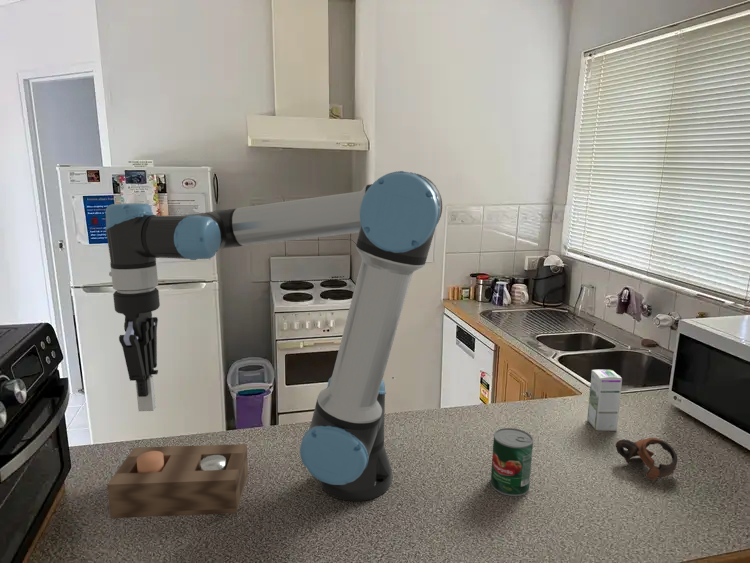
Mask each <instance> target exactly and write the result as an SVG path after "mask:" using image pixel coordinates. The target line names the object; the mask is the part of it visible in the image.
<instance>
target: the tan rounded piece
mask: <svg viewBox="0 0 750 563" xmlns="http://www.w3.org/2000/svg"><path fill="white" fill-rule="evenodd" d="M163 468H164V457H163V453H162V452H160V451H149V452H146V453H143V454H141V455H140V456H139V457H138V458H137V470H138V473H149V472H162V470H163Z"/></svg>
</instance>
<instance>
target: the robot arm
mask: <svg viewBox="0 0 750 563" xmlns="http://www.w3.org/2000/svg"><path fill="white" fill-rule="evenodd" d="M152 210H153V209H152V206H151V205H150V204H149V203H141V202H140V203H139V202H138V203H137V202H135V203H134V202H133V203H131V202H130V203H113V204H108V206H107V207H106V209H105V232H106V239H107V244H108V245H107V248H108V252H109V259H110V260H109V261H110V262H109V264H110V265H109V266H110V271H109V272H108V276H110V277H111V282H112V284H111V285H112V289H113V290H115V291H114V293H113V294H112V295H113V296H112V297H113V305H114V306H113V307H114V311H115V312H116V313H118V314H120V315H121V314H122V315H123V316H124V325H123V327H124V332H125V334H120V335H119V336H118V341H119V343H120V345H121V347H122V350H123V356H124V360H125V365H126V370H127V374H128V377H129V378H128V379H129V381H135V388H136V397H137V410H138V412H153V411H154V410H156V408H157V406H156V403H157V402H156V397H155V396H156V394H155V383H154V375H158V373H159V370H158V369H156V368H157V367H158V363H157V361H158V357H157V356H158V351H157V350H158V344H157V343H158V336H157V334H158V333H157V329H158V321H159V319H158V317H157V316H156V317H155V316H153V312H155V311H156V310H158V309H159V308H160V305H161V304H160V295H159V294H160V293H159V292H160V291H159V289H158V288H157V286H159V278H158V269H157V268H158V267H157V259H158V258H162V259H179V260H182V259H184V260H190V261H196V260H207V259H212V258H214V256H216V254H217V252H218V251H219V250H223V249H229V248H238V247H245V246H252V245H262V244H270V243H271V244H272V243H278V242H288V241H296V240H298V241H299V240H305V239H306V240H307V239H315V238H321V237H322V238H323V237H331V236H338V235H339V236H340V235H349V234H358V236H357V240H356V245H355V249H356V250H357V252H358V254H359V256H360V258H361V262H360V266H359V269H358V274H357V279H356V281H355V286H354V290H353V294H352V298H351V301H350V306H349V309H348V312H347V316H346V321H345V324H344V328H343V333H342V337H341V340H340V343H339V344H340V345H339V347H338V352H337V355H336V358H335V359H336V360H335V363H334V368H333V371H332V375H331V377H329V379H328V381H327V387H326V388H324V389H322V390H321V391H320V392H319V393H318V395H317V399H316V403H315V406H314V410H313V413H312V418H311V422H310V425H309V428H308V429H307V431H305V433H304V435H303V436H302V438H301V443H300V447H299V454H300V459H301V462H302V464H303V466H304V467H306V469H307V470H308V472H309V474H310V475H312V477H314V478H315V479H316V480H318V481H319V482H320V487H321V488H322V489H323V490H324V491H325V493H327V494H328V495H330V496H332V497H333V498H336V499H339V500H343V501H347V502H349V501H350V502H361V501H366V500H367V501H369V500H371V499H375V498H377V497H380V496H381V495H383V494H385V492H387V491H388V490H389V488H390V487H391V486H392V485H391V484H392V482H393V480H392V479H393V478H392V477H393V475H392V474H393V469H392V466H391V462H390V459H389V456H388V454H387V450H386V447H385V418H386V417H385V415H386V414H385V411H386V410H385V407H386V406H385V405H386V402H385V401H386V398H385V397H386V394H387V392H386V384H385V381H384V376H385V371H386V368H387V364H388V362H389V361H388V360H389V357H390V354H391V350H392V347H393V343H394V340H395V338H396V337H395V336H396V332H397V330H398V326H399V322H400V320H401V319H400V318H401V316H402V313H403V309H404V306H405V305H404V304H405V302H406V297H407V295H408V291H409V288H410V287H409V286H410V285H411V281H412V276H413V274H414V272H416V271H418V270H420V269H421V268H424V267H425V266H426V262H427V259H428V255H429V252H430V248H431V246H432V242H433V238H434V236H435V231H436V227H437V225H438V223H439V221H440V220H441V217H442V213H443V200H442V195H441V193H440V190H439V189H438V187H437V185H435V183H434V182H433V181H432V180H431V179H429V178H427V177H426V176H424V175H422V174H419V173H415V172H408V171H403V170H399V171H393V172H389V173H386V174H384V175H383V176H381V177H379V178H377V179H376V180H375V181H374V182H373V183H371V184H365V185H364V187H363V188H362V189H361V190H359V191H352V192H345V193H338V194H337V193H336V194H331V195H324V196H318V197H317V196H315V197H308V198H303V199H302V198H301V199H295V200H288V201H280V202H274V203H273V202H272V203H266V204H265V203H263V204H257V205H249V206H245V207H244V206H243V207H237V208H227V209H219V210H212V211H208V212H200V213H199V212H198V213H191V214H184V215H183V214H181V215H156V214H153V213H154V212H153V211H152Z"/></svg>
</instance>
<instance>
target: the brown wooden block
mask: <svg viewBox="0 0 750 563" xmlns="http://www.w3.org/2000/svg"><path fill="white" fill-rule="evenodd" d="M149 451H160V452H162V453H163V457H164V468H163V470H162V472H149V473H138V470H137V458H138V457H139V456H140V455H141V454H143V453H146V452H149ZM211 455H221V456H224V457H225V458H226V470H207V471H201V465H200V463H201V461H202V460H203V459H204V458H206V457H208V456H211ZM248 461H249V460H248V444H247V443H242V444H241V443H238V444H237V443H236V444H210V445H209V444H206V445H178V446H177V445H176V446H175V445H173V446H170V445H169V446H147V447H145V446H144V447H133V449H132V450H131V451H130V452H129V453H128V456H127V457H125V460H124V461H123V462H122V464H121V465H120V466H119V467H118V469H117V471H115V473H114V474H113V476H112V477H111V479H110V480H109V481H108V482H107V484H106V486H107V496H108V497H107V498H108V506H109V507H108V508H109V516H110V519H131V518H132V519H134V518H151V517H152V518H157V517H177V516H178V517H179V516H180V517H181V516H199V515H200V516H201V515H205V516H206V515H223V514H224V515H226V514H227V515H228V514H229V515H230V514H237V513H238V511H239V508H240V504H241V502H242V501H241V500H242V497H243V493H244V491H245V486H246V483H247V479H248V476H249V466H248V465H249V464H248Z"/></svg>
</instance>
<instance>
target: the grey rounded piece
mask: <svg viewBox="0 0 750 563" xmlns="http://www.w3.org/2000/svg"><path fill="white" fill-rule="evenodd" d="M200 465H201V471H207V470H226V458H225V457H224V456H221V455H211V456H208V457H206V458H204V459H203V460H202V461H201V463H200Z"/></svg>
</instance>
